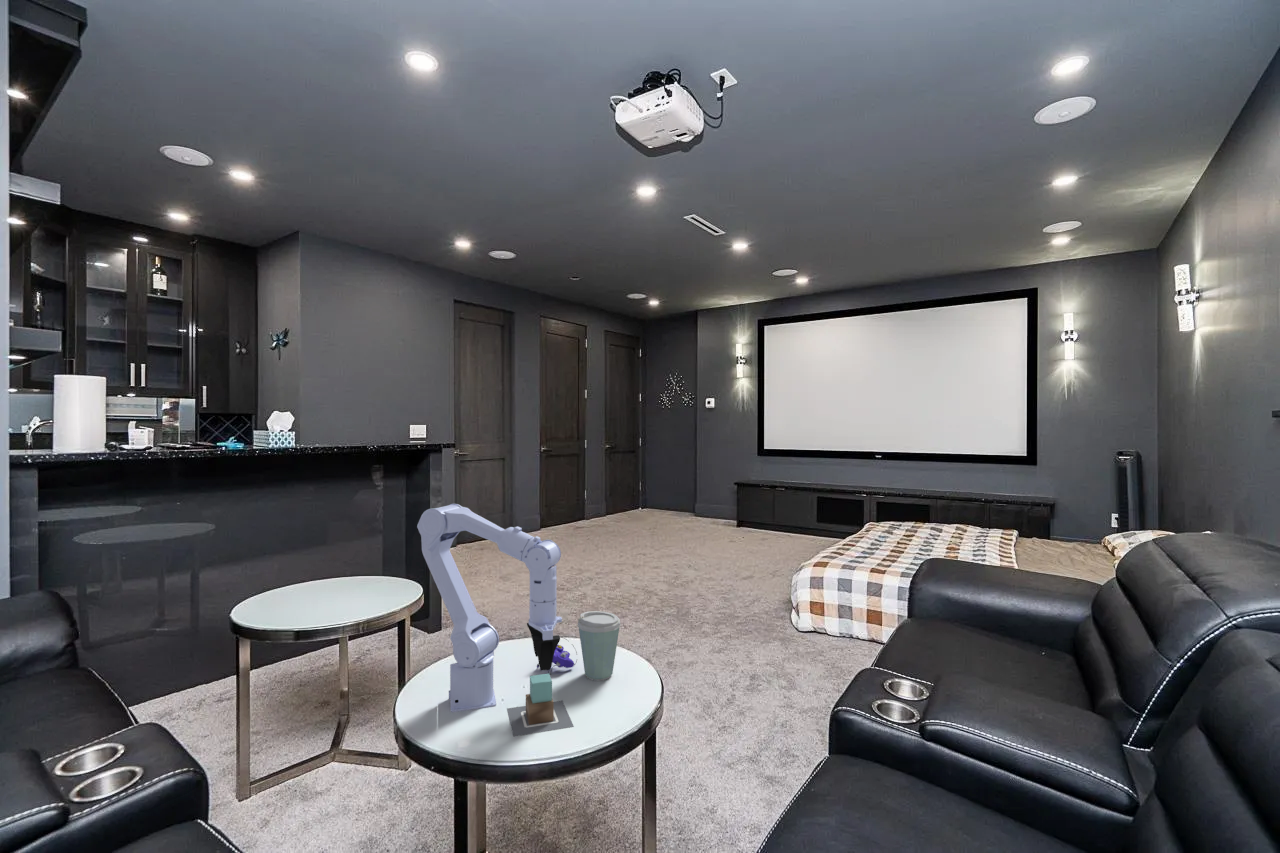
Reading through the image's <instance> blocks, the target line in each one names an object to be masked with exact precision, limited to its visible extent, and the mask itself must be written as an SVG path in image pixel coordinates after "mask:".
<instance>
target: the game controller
mask: <svg viewBox="0 0 1280 853" xmlns="http://www.w3.org/2000/svg"><path fill="white" fill-rule="evenodd" d="M561 638H562V639H564V640H566V641H568V639H566V638H565V637H562V636H560V639H561ZM572 646H573V648H574V650H575V653H576V654H578V652H577V650H576V648H575V647H574V645H572ZM570 656H571V654H570V652H569V651H567V650H565V648H564V646H563V645H561V644H558V645H557V647H556V649H555V652H554V656H553V661H552V664H554V665H552V666H551V669H550V670H547V674H550V672H552V670H553V668H554V667H555V666H556V667H558V668H566V669H570V668H573V667H574V666H575V665H576V664H577V661H578V660H576V661H575V663H574V661H573V660H572V659H571V658H570ZM536 668H537V669H538V668H539V669H540V666H539V662H538V663H537V664H536ZM549 671H550V672H549Z"/></svg>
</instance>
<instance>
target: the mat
mask: <svg viewBox="0 0 1280 853" xmlns="http://www.w3.org/2000/svg"><path fill="white" fill-rule="evenodd" d="M553 701H554V721H551V722H544V723H538V724H532V725H529V723H528V720H527V716H526V705H521V706H516V707H514V706H513V707H509V708H508V707H507V708H506V710H507V715H508V720H509V725H510V728H511V732H512V737H519V736H525V735H533V734H539V733H544V732H551V731H556V730H562V729H568V728H569V729H570V728H574V724H573V721H572V719H571V717H570V715H569V712H568V710H567V707H566V705H565V704H564V701H563V699H562V700H557V701H555V700H553Z"/></svg>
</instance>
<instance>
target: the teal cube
mask: <svg viewBox="0 0 1280 853" xmlns="http://www.w3.org/2000/svg"><path fill="white" fill-rule="evenodd" d="M529 694H530V697H531V700H532V703H539V702H546V701H552V699H553V681H552V678H551V674H550V673H543V674H542V673H541V674H534V675H529Z"/></svg>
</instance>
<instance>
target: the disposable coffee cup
mask: <svg viewBox="0 0 1280 853" xmlns="http://www.w3.org/2000/svg"><path fill="white" fill-rule="evenodd" d="M577 620H578V621H577V628H578V632H579V638H580V647H581V654H582V663H583V670H584V675H585V677H586V678H587V679H588V680H591V681H605V680H608V679H609V678H611V677H612V675H613V674H614V673H613V672H614V666H615V659H616V653H617V645H618V640H619V632H620V628H621V619H620V618H619V616H617V615H616V614H614V613H612V612H608V611H599V610H591V611H585V612H582V613H580V614H579V618H578V619H577Z"/></svg>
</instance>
